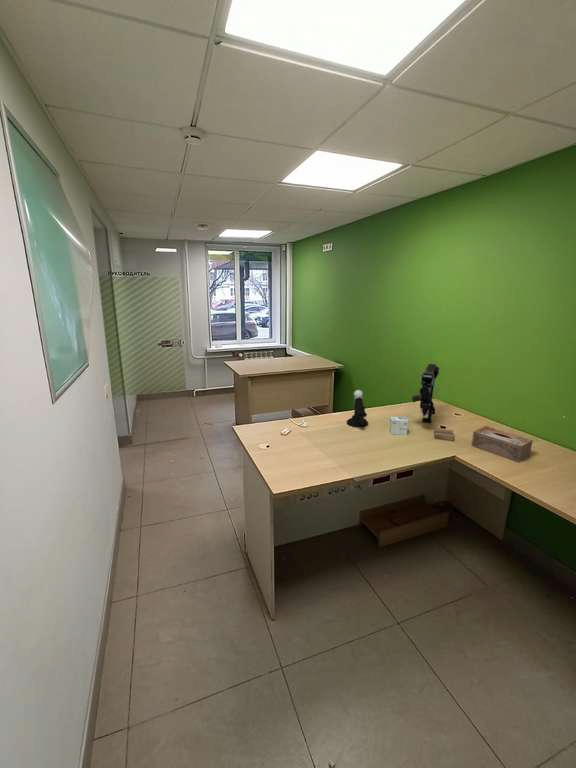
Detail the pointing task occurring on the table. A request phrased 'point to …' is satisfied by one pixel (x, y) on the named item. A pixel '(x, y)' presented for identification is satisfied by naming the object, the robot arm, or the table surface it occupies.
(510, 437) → the tissue box cover
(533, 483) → the table surface
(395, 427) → the light bulb box
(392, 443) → the table surface
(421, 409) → the beige cube
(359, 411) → the sculpture
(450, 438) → the pedestal
